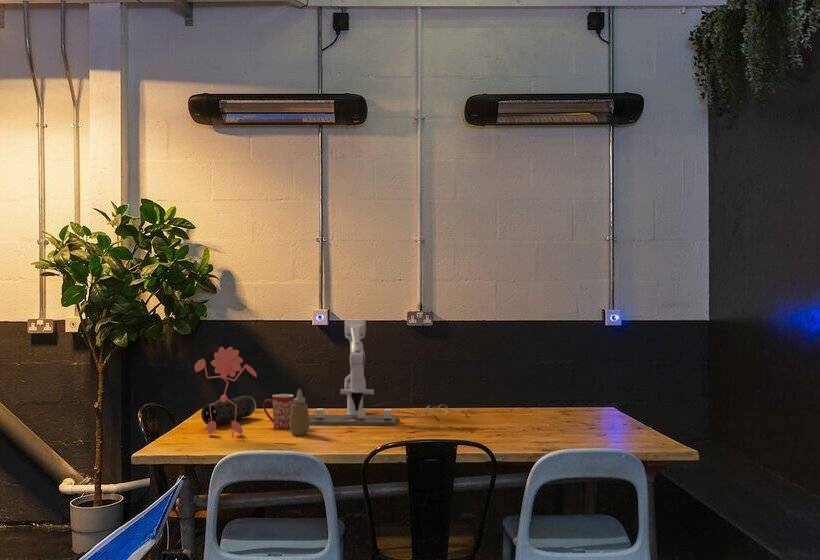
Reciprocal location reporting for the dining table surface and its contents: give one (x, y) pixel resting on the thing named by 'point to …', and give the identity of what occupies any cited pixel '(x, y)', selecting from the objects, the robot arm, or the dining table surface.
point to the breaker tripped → (361, 413)
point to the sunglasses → (438, 412)
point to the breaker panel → (353, 420)
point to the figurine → (225, 365)
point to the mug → (280, 410)
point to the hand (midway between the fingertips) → (357, 410)
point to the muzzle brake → (229, 410)
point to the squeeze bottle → (299, 416)
